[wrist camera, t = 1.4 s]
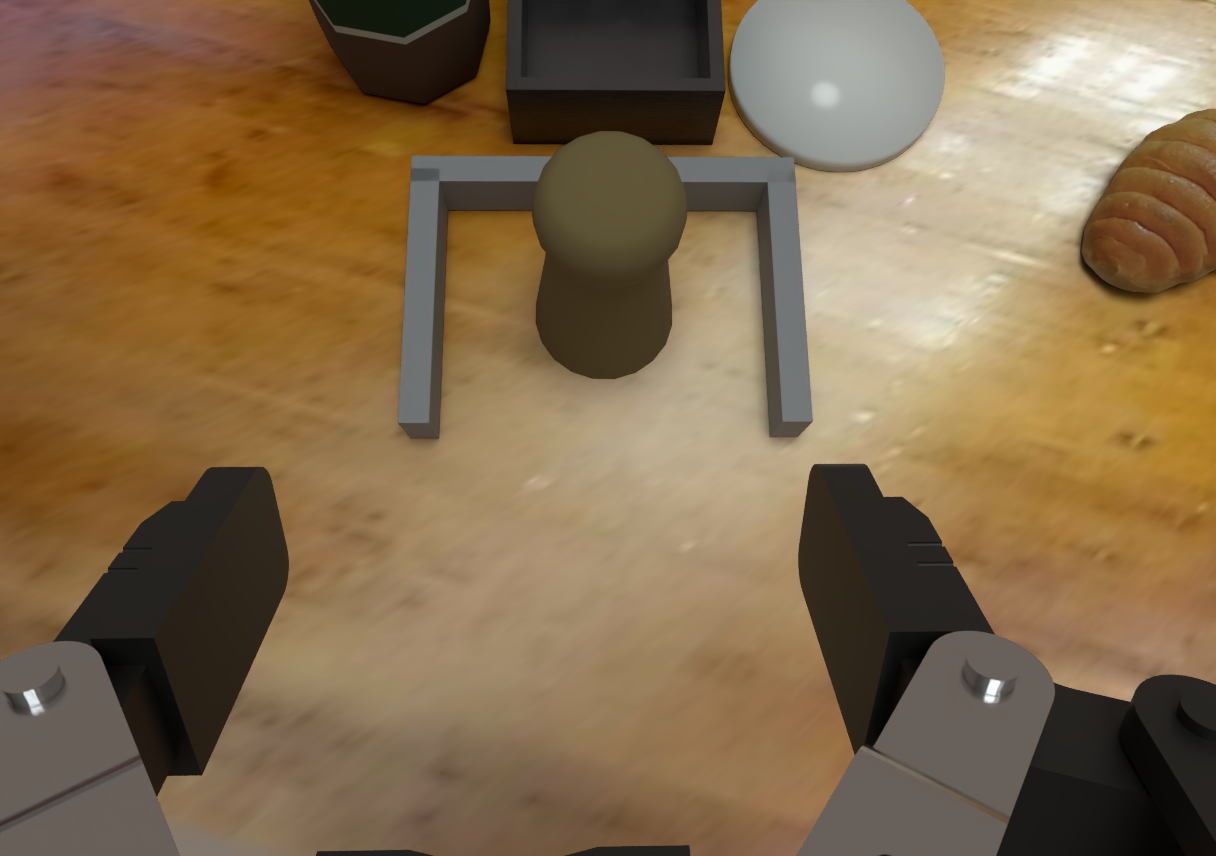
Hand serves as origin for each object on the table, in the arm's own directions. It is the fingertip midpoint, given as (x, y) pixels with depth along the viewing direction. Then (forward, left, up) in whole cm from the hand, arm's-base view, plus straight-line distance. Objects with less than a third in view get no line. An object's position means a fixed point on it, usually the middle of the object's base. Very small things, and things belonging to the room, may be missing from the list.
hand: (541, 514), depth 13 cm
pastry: (+28, +17, -23) cm, 40 cm away
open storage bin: (+2, +25, -23) cm, 34 cm away
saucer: (+12, +24, -23) cm, 36 cm away
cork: (+1, +12, -23) cm, 26 cm away
